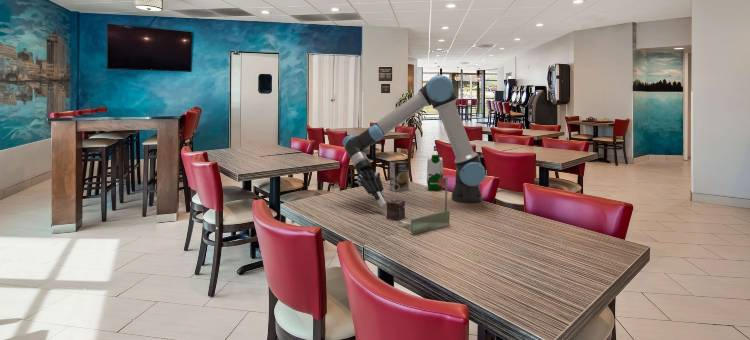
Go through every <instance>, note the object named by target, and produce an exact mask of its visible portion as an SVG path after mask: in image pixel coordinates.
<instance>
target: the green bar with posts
mask: <svg viewBox="0 0 750 340" xmlns="http://www.w3.org/2000/svg"><path fill="white" fill-rule="evenodd" d="M448 180H449V177H447V176H446V177H443V178H441V179H438V186H442V187H443V186H445V190H444V191H445V192H444V195H445V196H444V197H445V198H444V199H445V200H444V210H441V211H437V212H433V213H430V214H425V215H424V214H423V215H420V216H417V217H413V218H412V217H411V218H410V222H407V221H405V220H402V219H400V220H398V226H399V227H402V228H405V229H408V230H410V234H411V235H417V234H422V233H425V232H429V231H433V230H436V229H440V228H444V227H447V226H450V222H451V221H450V220H451V219H450V218H451V217H450V215H451V213H450V212H451V211H450V210H448V186H449V185H448V183H449V181H448Z"/></svg>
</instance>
